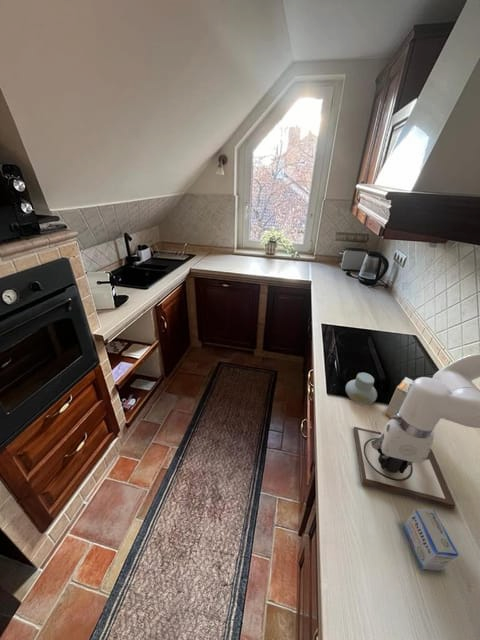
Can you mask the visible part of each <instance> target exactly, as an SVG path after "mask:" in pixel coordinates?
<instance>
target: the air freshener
mask: <svg viewBox="0 0 480 640" xmlns="http://www.w3.org/2000/svg"><path fill="white" fill-rule="evenodd" d="M374 383H375V378H374V377H373V376H372V375H371V374H369V373H367V372H358V373H357V374H356V377H355V379H350V380H349V381H347V383H346V384H345V393H346V395H347V396H348V398H349V399H351V400H352V401H353V402H355V403H358V404H359V405H360V404H361V405H370V404H374V403H375V402H376V400H377V398H378V392H377V390H376V388H375V386H374Z"/></svg>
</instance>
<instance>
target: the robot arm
mask: <svg viewBox="0 0 480 640" xmlns="http://www.w3.org/2000/svg"><path fill="white" fill-rule="evenodd" d="M478 378H480V352H479V353H472V354H468V355H466V356H462V357H460V358H457V359H456V360H454V361H452V362H450V363H448V364H446V365H445V366H443V367H442V368H440V369H438V370H437V371H436V372H434V374H433V375H432V377H428V376H421V377H417V378H416V379H414V380H413V381H414V382H413V383H412V385H411V387H410V389H409V391H408V394H407V396H406V398H405V400H404V402H403V404H402V406H401V408H400V410H398V413H397V414H391V417H390V420H389V421H388V422H387V424H386V425H385V426H384V428H383V429H382V431H381V435H380V438H378V439H376V440H374V441H372V442H371V445H372V447H373V448H374V449H376V450H378V452H379V453H380V456H379V458H378V461H379V463H380V464H381V468H382V469H385V467H386V465H387V463H388V461H389V460H388V458H389V457H394V458H398V459H402V460H404V462H403V463H402V465H401V467H400V469H399V472H400V473H402V474H403V472H404V471H405V469H407V467H408V465H412V463H414V462H415V463H422V462H424V461H425V460H428V459H429V457H428V454H429V452H430V449H432V446H433V442H434V438H435V434H434V430H435V428H436V426H437V425H438V423H439V422H440V421H441V419H443V420H446V421H449V422H452V423H455V424H458V425H461V426H464V427H468V428H473V429H480V389H479V388H478V387H477V386H476V385H475V384H474V383H473V382H472V381H474V380H476V379H478Z"/></svg>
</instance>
